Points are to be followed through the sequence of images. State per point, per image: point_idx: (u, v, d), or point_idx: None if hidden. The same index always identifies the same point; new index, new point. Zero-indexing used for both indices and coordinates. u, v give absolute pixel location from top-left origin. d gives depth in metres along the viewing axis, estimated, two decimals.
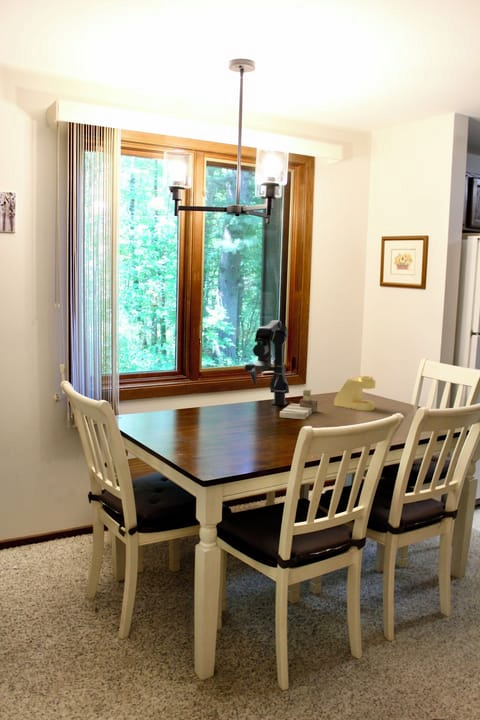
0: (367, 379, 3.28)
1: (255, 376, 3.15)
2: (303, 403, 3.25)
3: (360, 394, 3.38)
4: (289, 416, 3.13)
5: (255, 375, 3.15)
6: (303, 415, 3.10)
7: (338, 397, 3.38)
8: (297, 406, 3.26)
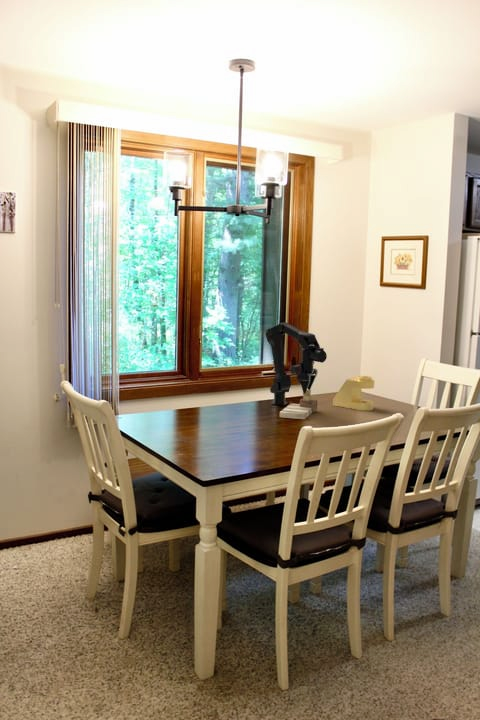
0: (366, 379, 3.28)
1: (309, 381, 3.28)
2: (303, 403, 3.25)
3: (359, 394, 3.38)
4: (289, 416, 3.13)
5: (309, 380, 3.28)
6: (303, 415, 3.10)
7: (337, 397, 3.38)
8: (297, 406, 3.26)
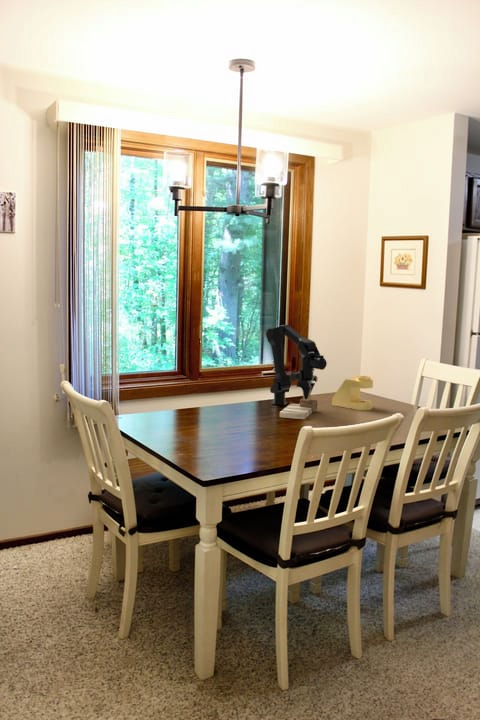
0: (365, 379, 3.29)
1: None
2: (303, 403, 3.25)
3: (358, 394, 3.39)
4: (289, 416, 3.13)
5: None
6: (303, 415, 3.10)
7: (336, 397, 3.39)
8: (297, 406, 3.26)
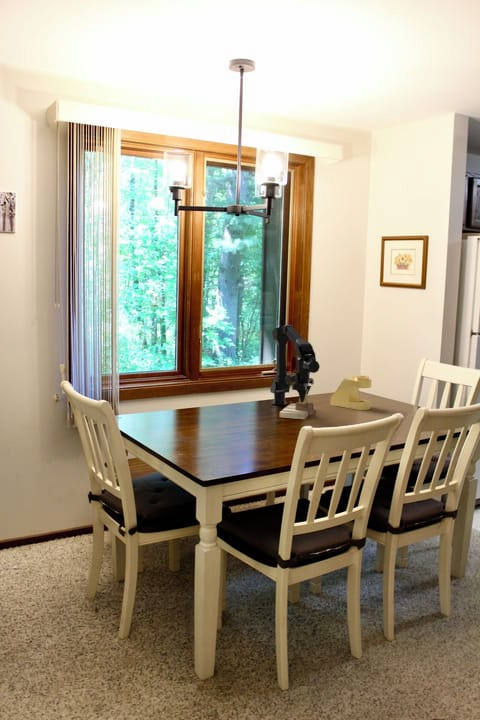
0: (363, 378, 3.29)
1: None
2: (299, 406, 3.17)
3: (356, 393, 3.39)
4: (289, 416, 3.13)
5: None
6: (303, 415, 3.10)
7: (334, 396, 3.39)
8: None
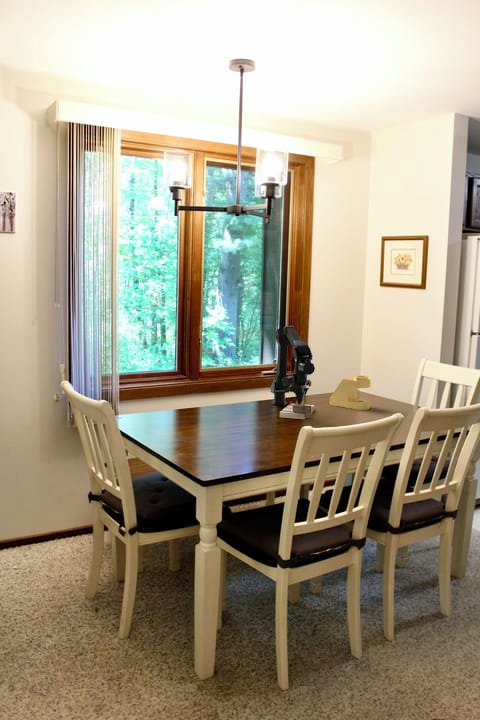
0: (362, 378, 3.30)
1: None
2: (296, 408, 3.12)
3: (355, 393, 3.40)
4: (289, 416, 3.13)
5: None
6: (303, 415, 3.10)
7: (333, 396, 3.40)
8: None
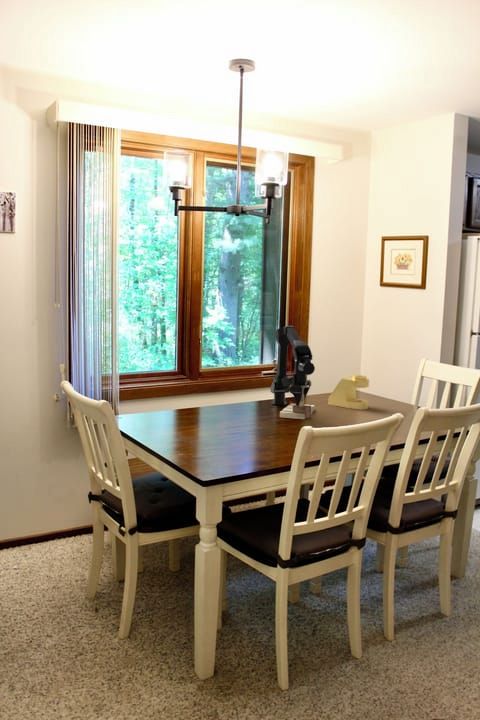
0: (361, 378, 3.30)
1: (303, 392, 3.17)
2: (296, 408, 3.12)
3: (354, 393, 3.40)
4: (289, 416, 3.13)
5: (303, 392, 3.17)
6: (303, 415, 3.10)
7: (332, 396, 3.40)
8: None
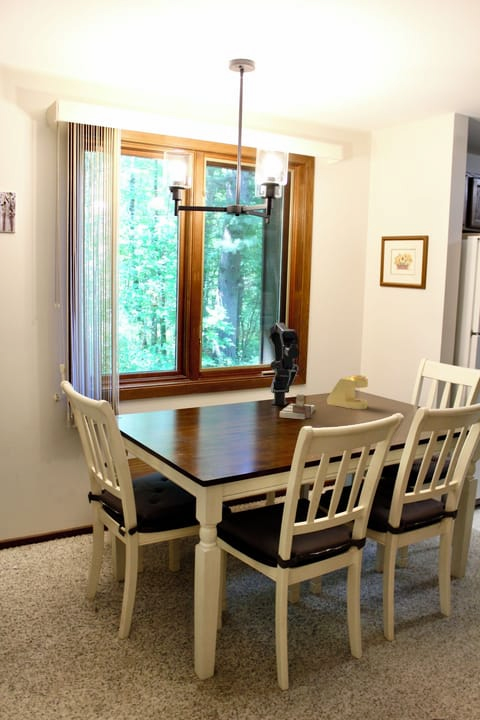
0: (360, 378, 3.31)
1: (290, 376, 3.28)
2: (296, 408, 3.12)
3: (353, 393, 3.41)
4: (289, 416, 3.13)
5: (291, 376, 3.28)
6: (303, 415, 3.10)
7: (331, 396, 3.41)
8: None
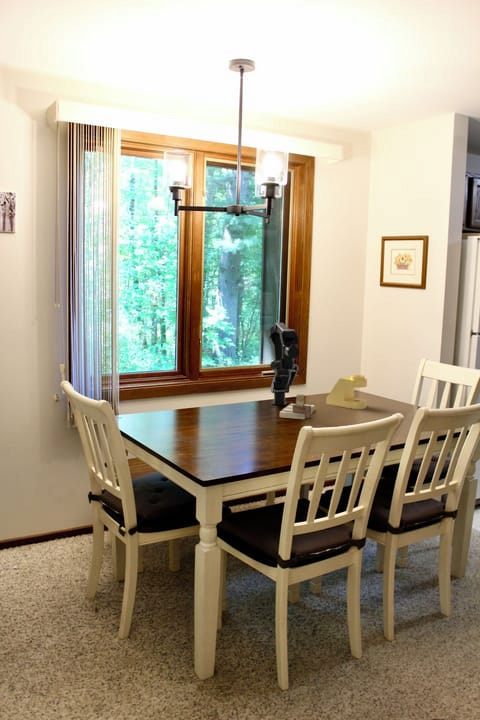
0: (359, 378, 3.31)
1: (290, 376, 3.28)
2: (296, 408, 3.12)
3: (352, 393, 3.41)
4: (289, 416, 3.13)
5: (291, 376, 3.28)
6: (303, 415, 3.10)
7: (330, 396, 3.41)
8: None
